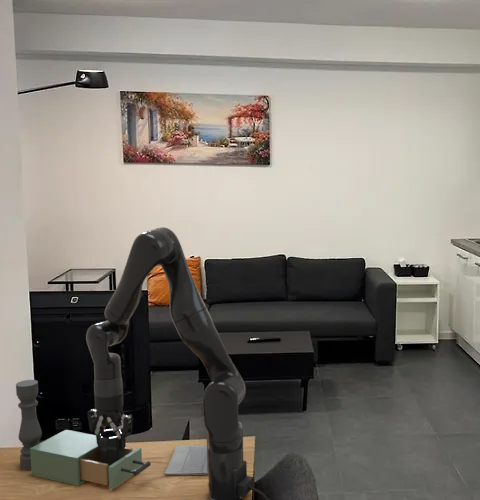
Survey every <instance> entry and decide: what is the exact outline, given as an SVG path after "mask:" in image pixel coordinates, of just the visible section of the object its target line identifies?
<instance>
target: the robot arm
mask: <svg viewBox="0 0 480 500" xmlns="http://www.w3.org/2000/svg"><path fill="white" fill-rule="evenodd" d="M159 266H160V267H161V269H162V271H163V273H164V276H165V278H166V281H167V284H168V292H169V293H168V294H169V298H168V299H169V301H168V303H169V316H170V318H171V320H172V323H173V325H174V327H175V329H176V331H177V334H178V336H179V337H180V340H181V341H182V342H183V343H184V344H185V346H186V347H187V348H188V349H189V350H190V351H191V352H192V353H193V354H195V355H196V357H198V358H199V360H200V361H201V362H202V364H203V367H204V368H205V370H206V372H207V374H208V377H209V380H210V383H209V384H208V385H207V386H206V388H205V389H204V391H203V397H202V399H203V400H202V404H203V405H202V407H203V420H204V421H203V422H204V427H205V430H206V435H207V434H208V474H207V477H208V479H207V481H208V483H207V487H208V500H243V498H245V497H246V496H247V495H248V494H249V493H250V492H251V491H253V492H255V493H257V494H258V495H260V496H261V497H262V498H263V499H264V500H270V498H269V497H267V496H266V494H265V493H264V492H263V491H261V490H260V489H258V488H256V487H254V486H255V485H254V484H255V483H254V480H255V479H254V476H251V475H248V473H247V472H248V471H247V467H248V466H247V463H248V462H247V460H244V426H243V424H242V422H240V419H239V405H240V404H241V403H242V401H243V400H244V398H245V397H246V393H247V392H246V391H247V390H246V389H247V387H246V384H245V381H244V379H243V377H242V376H241V373H240V372H239V371H238V368H237V367H236V365H235V364H234V363H233V362H234V361H232V358H231V357H230V355H229V354H228V352H227V350H226V347H225V346H224V343H223V341H222V338H221V336H220V334H219V332H218V330H217V327H216V326H215V323H214V321H213V317H211V314H210V311H209V310H208V308H207V306H206V303H205V302H204V300H203V297H202V296H201V293H200V291H199V289H198V287H197V284H196V282H195V280H194V277H193V276H192V272H191V270H190V267H189V264H188V262H187V259H186V256H185V253H184V249H183V247H182V245H181V242H180V240H179V238H178V236H177V235H176V233H175V232H174V231H173V230H171V228H168V227H157V228H154V229H151V230H147V231H144V232H142V233H140V234H138V235H137V236H136V238H134V240H133V243H132V245H131V247H130V251H129V254H128V257H127V260H126V263H125V265H124V269H123V272H122V275H121V277H120V280H119V282H118V284H117V287H116V288H115V290H114V292H113V294H112V296H111V297H110V299H109V301H108V302H107V305H106V307H105V309H104V317H105V319H106V320H105V321H100V322H97V323H94V324H92V325H90V326H89V327H88V328H87V331H86V334H85V336H86V337H85V340H86V345H87V347H88V350H89V353H90V356H91V359H92V362H93V371H94V372H93V373H94V380H93V394H94V407H93V408H92V409H90V410H88V411H87V412H86V413H87V414H86V415H87V420H88V427H89V431H90V432H92V433H93V432H94V435H96V439H97V445H98V447H99V433H101V432H103V431H104V430H106V428H107V427H108V428H110V429H112V430H113V432H115V433H116V435H117V438H118V439H117V449H118V451H122V450H123V449H124V448H125V447H127V442H126V438H127V437H129V436H131V435H132V433H133V418H134V416H133V415H132V414H129V415H127V414H125V413H124V411H123V408H124V403H125V402H124V383H123V382H124V381H123V376H122V359H121V356H120V355H119V354H118V353H114V352H109V347H112V346H115V345H118V344H120V343H121V342H123V340H125V338H126V337H127V334H128V332H129V327H130V323H131V318H132V317H133V315H134V313H135V312H136V310H137V308H138V306H139V304H140V302H141V299H142V293H143V285H144V283H145V280H146V278H147V277H148V276H149V275H150V273H151V272H152V271H153V270H154V269H155V268H156V267H159ZM119 430H120V431H121V433H120V431H119Z"/></svg>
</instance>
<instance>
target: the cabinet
mask: <svg viewBox="0 0 480 500" xmlns="http://www.w3.org/2000/svg"><path fill="white" fill-rule="evenodd" d="M98 448H99V447H98V445H97V439H96V434H92V433H85V432H80V431H76V430H70V429H64V430H63V431H61V432H59V433H57V434H55V435H53V436H51V437H49V438H47V439H45V440H43V441H42V442H39V443H38V445H36V446H34V447H32V448H30V455H31V470H30V471H31V476H32V477H38V478H42V479H47V480H51V481H55V482H59V483H64V484H68V485H71V486H72V485H73V486H77V487H79V486H81V485H82V484H84V483H85V482H87V481H86V480H81V479H80V467H79V459H81V458H83V457H85V456H86V455H88V454H90V453H91V452H93V451H95V450H96V449H98Z"/></svg>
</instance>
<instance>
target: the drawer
mask: <svg viewBox="0 0 480 500" xmlns="http://www.w3.org/2000/svg"><path fill="white" fill-rule="evenodd" d="M142 452H143V451H142V447H137V448H135V449H133V448H132V447H128V446H126V447H125V448H124V449H123V453H124V457H123V458H121V459H120V460H118V461H116V462H115V463H113V464H112V465H110V466H109V467H108V464H105V463H100V453H99V448H98V449H96V450H95V451H93V452H91V453H90V454H88V455H86V456H85V457H83V458H81V459H79V467H80V479H81V480H86V481H85V482H90V483H96V484H100V485H104V486H109V487H108V488H109V489H110V490H114V489H115V488H117V487H119V486H120V485H121V484H123V483H124V482H126V481H127V480H129V479H130V478H131V477H133V476H135V477H137V476H138V475H140V473H142V472H143V471H145V470H146V469H148V468H149V467H150V466H151V465H152V463H151V462H150V461H149V460H147V461H146V462H145V461H143V453H142ZM108 469H109V472H108Z"/></svg>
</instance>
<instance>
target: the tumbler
mask: <svg viewBox="0 0 480 500" xmlns="http://www.w3.org/2000/svg"><path fill="white" fill-rule="evenodd" d="M119 431H120V430H119ZM120 433H121V431H120ZM117 439H118V438H117V435H116V433H115V432H113V430H112V428H109V429H105V430H104V431H103V432H101V433H99V453H100V463H105V464H108V467H109V466H110V465H112V464H113V463H115V462H116V461H118V460H120V459H121V458H123V457H124V453H123V450H122V451H118V449H117ZM108 472H109V469H108Z"/></svg>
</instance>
